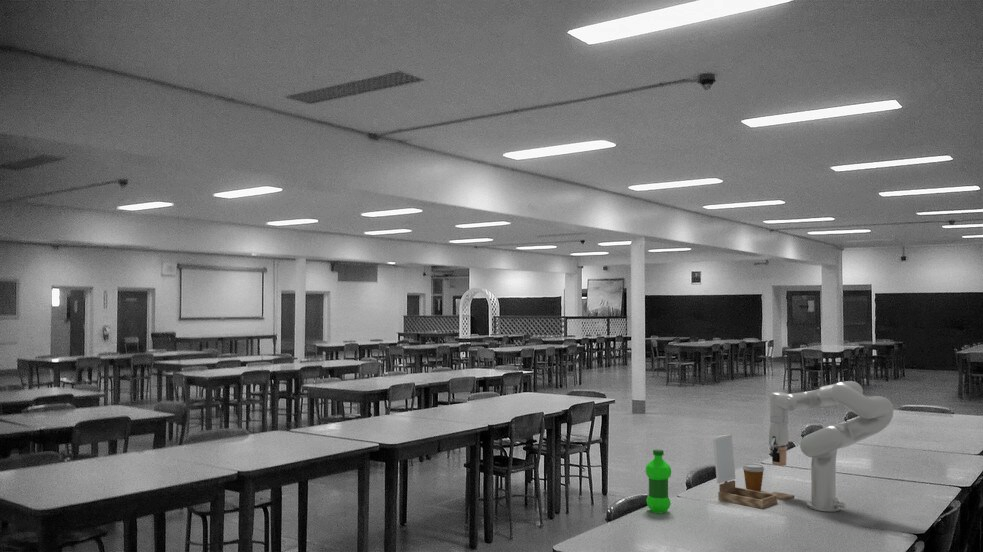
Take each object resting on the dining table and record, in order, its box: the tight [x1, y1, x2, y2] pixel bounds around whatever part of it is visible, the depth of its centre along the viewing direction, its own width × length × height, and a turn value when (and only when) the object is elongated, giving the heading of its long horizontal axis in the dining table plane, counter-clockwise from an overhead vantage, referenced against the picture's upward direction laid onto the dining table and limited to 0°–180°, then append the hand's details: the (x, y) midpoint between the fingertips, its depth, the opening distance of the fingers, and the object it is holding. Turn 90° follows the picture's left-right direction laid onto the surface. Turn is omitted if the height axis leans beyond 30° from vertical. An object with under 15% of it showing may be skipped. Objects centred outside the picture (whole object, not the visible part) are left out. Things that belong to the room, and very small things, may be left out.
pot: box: [771, 444, 788, 467], centre depth 332 cm, size 7×7×8 cm
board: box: [769, 491, 795, 502], centre depth 331 cm, size 9×9×2 cm
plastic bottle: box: [645, 448, 672, 514], centre depth 308 cm, size 10×10×25 cm
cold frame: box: [717, 480, 778, 510], centre depth 324 cm, size 22×14×20 cm, turn 44°
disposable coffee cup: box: [742, 463, 765, 492], centre depth 343 cm, size 10×10×12 cm
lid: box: [712, 433, 736, 484], centre depth 331 cm, size 20×15×1 cm
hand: (779, 460), depth 331 cm, fingers closed on pot, 5 cm apart
